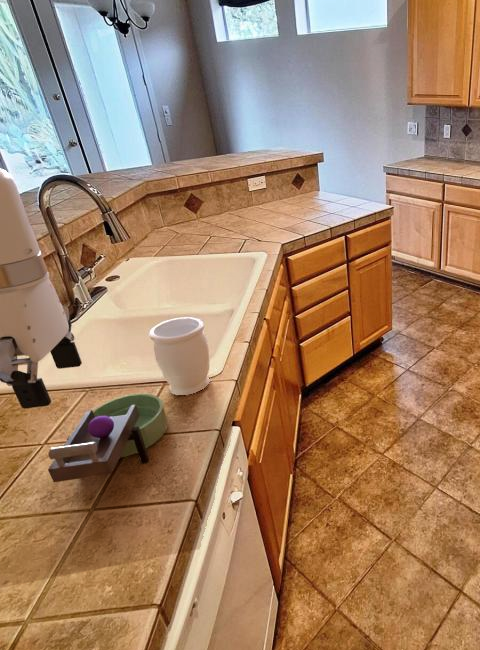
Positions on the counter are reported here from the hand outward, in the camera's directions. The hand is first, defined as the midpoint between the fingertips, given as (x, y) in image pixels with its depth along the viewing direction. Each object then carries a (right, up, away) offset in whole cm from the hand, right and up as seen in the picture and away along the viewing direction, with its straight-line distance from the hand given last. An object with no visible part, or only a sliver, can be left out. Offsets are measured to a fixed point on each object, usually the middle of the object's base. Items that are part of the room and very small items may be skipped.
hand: (54, 384), depth 61 cm
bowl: (-3, -14, +22) cm, 26 cm away
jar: (+1, -7, +37) cm, 37 cm away
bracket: (-1, -17, +15) cm, 22 cm away
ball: (-1, -10, +12) cm, 16 cm away
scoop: (-1, -12, +10) cm, 16 cm away
